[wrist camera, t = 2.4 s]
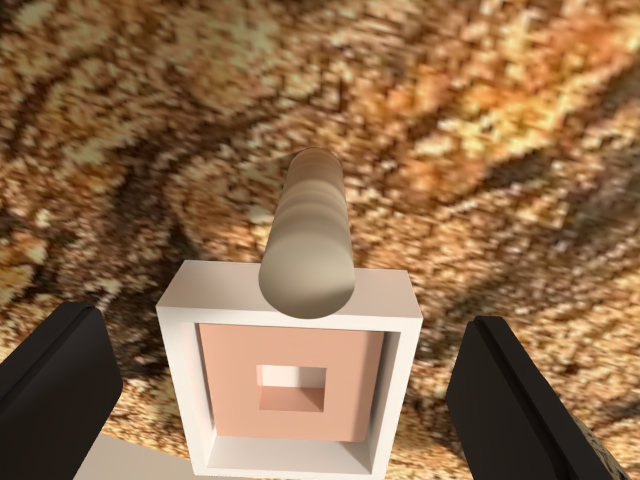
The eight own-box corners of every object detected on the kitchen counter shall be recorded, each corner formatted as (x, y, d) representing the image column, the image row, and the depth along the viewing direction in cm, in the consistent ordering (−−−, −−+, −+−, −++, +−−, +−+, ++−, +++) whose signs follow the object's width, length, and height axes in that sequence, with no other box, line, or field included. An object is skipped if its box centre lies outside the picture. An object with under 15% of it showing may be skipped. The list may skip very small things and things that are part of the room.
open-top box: (185, 259, 23) (155, 306, 19) (406, 270, 23) (423, 318, 19) (211, 418, 31) (194, 474, 27) (376, 425, 31) (383, 482, 27)
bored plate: (208, 302, 23) (199, 323, 21) (379, 310, 23) (384, 332, 21) (223, 411, 29) (216, 435, 27) (362, 417, 29) (364, 442, 27)
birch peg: (288, 145, 19) (256, 237, 10) (344, 148, 19) (359, 242, 10) (288, 198, 21) (260, 317, 12) (340, 200, 21) (351, 321, 12)
